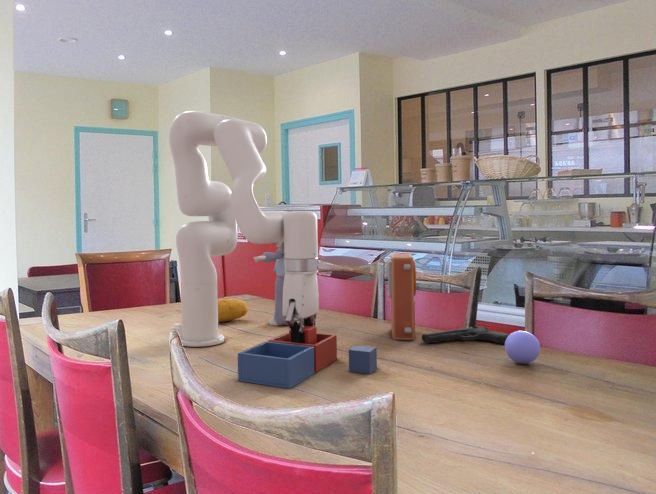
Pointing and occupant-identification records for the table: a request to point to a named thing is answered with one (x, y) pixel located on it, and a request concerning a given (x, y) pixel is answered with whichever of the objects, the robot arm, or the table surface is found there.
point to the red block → (308, 334)
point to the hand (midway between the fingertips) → (303, 346)
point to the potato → (231, 309)
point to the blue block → (362, 359)
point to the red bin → (316, 348)
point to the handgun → (466, 335)
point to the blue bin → (276, 364)
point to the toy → (277, 281)
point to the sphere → (522, 347)
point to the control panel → (402, 295)
